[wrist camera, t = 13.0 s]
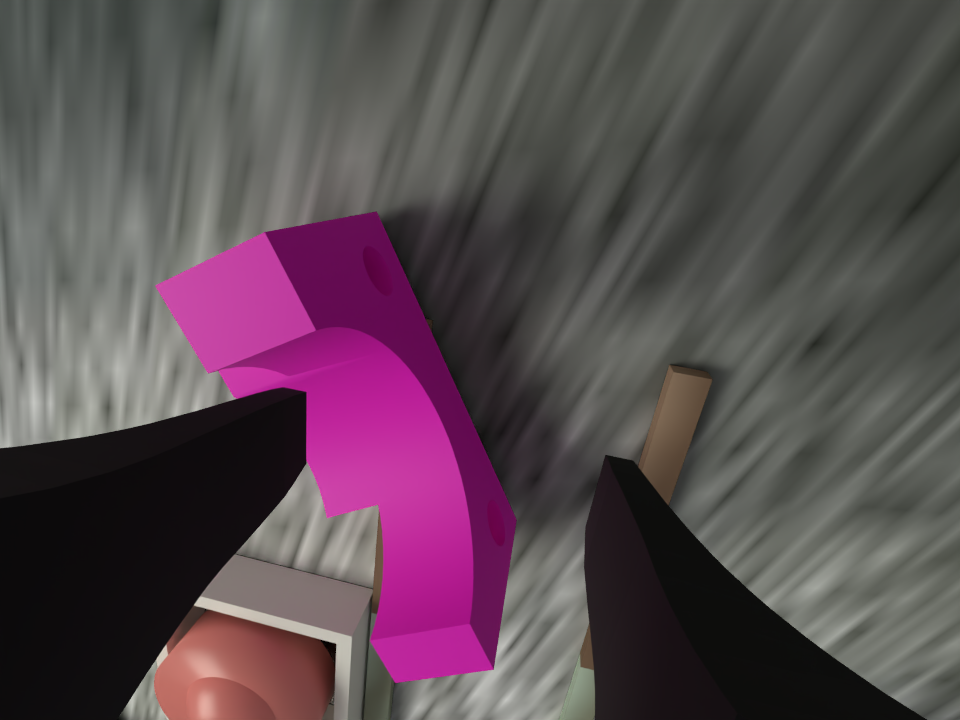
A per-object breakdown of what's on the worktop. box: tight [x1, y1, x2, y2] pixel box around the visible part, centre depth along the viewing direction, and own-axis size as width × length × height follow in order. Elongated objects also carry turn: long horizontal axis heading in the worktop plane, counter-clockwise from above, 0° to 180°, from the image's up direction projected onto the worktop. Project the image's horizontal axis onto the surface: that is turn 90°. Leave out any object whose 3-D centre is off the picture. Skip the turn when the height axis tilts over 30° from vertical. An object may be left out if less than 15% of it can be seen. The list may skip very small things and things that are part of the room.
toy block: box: [156, 212, 517, 683], centre depth 18 cm, size 15×6×8 cm, turn 23°
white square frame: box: [157, 554, 373, 720], centre depth 29 cm, size 12×12×3 cm
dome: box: [154, 609, 335, 720], centre depth 27 cm, size 9×9×6 cm
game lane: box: [363, 319, 713, 720], centre depth 26 cm, size 13×34×1 cm, turn 172°
